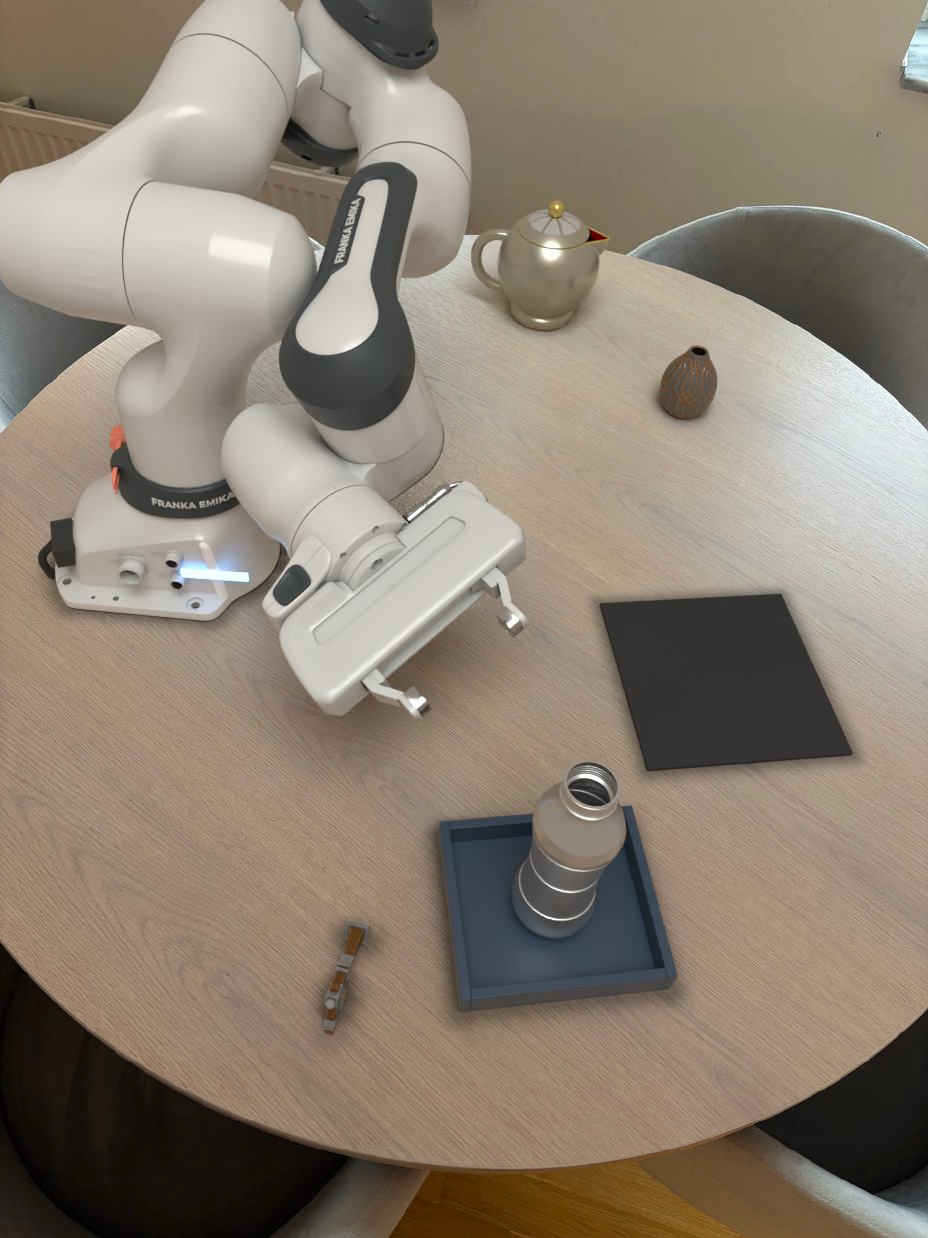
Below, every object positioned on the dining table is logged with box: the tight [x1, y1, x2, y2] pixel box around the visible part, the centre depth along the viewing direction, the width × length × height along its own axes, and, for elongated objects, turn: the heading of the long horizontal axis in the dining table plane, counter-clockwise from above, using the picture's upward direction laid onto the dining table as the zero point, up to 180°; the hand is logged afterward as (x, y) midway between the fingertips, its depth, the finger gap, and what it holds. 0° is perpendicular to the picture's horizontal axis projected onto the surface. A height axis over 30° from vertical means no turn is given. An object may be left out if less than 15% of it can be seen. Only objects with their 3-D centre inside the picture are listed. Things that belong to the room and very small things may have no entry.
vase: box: [659, 344, 718, 420], centre depth 118 cm, size 7×7×9 cm
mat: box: [599, 593, 854, 772], centre depth 94 cm, size 20×20×1 cm
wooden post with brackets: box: [323, 918, 371, 1035], centre depth 71 cm, size 2×8×4 cm, turn 168°
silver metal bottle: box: [512, 760, 626, 939], centre depth 70 cm, size 6×7×20 cm
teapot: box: [470, 199, 611, 331], centre depth 127 cm, size 18×14×16 cm
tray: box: [437, 805, 678, 1013], centre depth 76 cm, size 17×15×3 cm
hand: (472, 670), depth 69 cm, fingers open, 8 cm apart
